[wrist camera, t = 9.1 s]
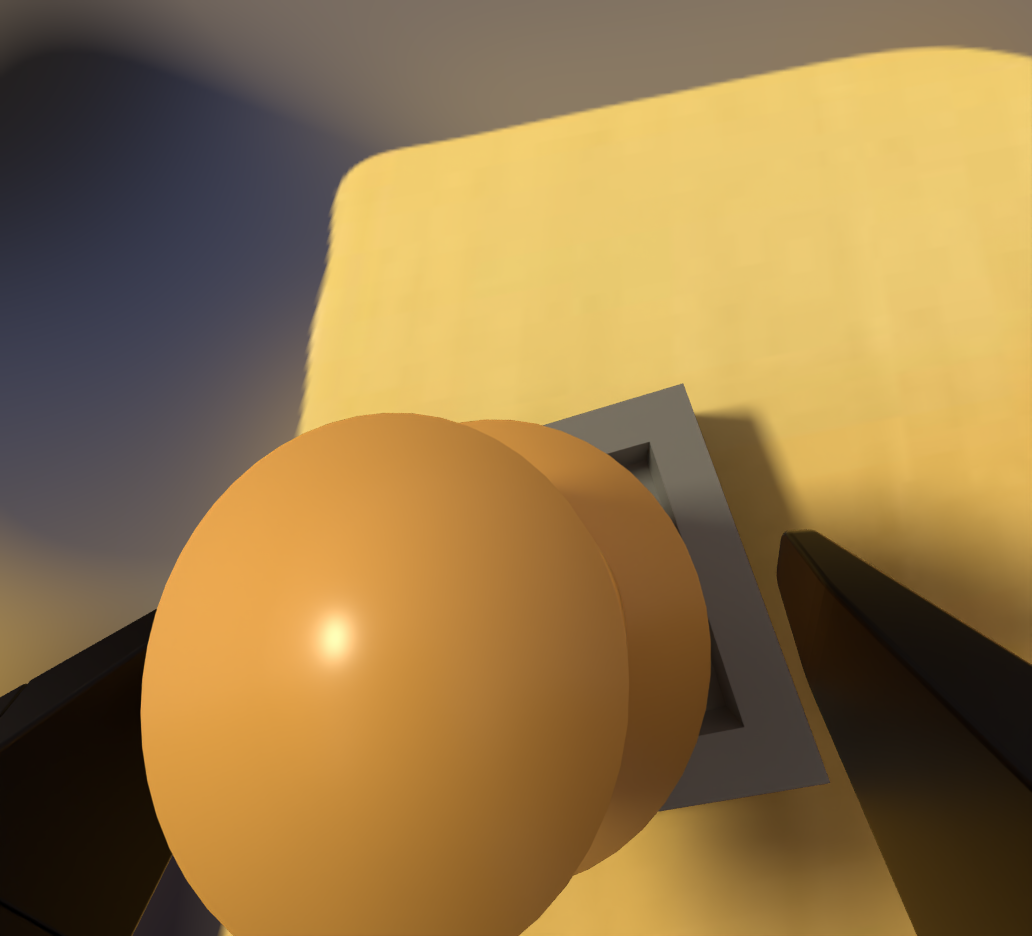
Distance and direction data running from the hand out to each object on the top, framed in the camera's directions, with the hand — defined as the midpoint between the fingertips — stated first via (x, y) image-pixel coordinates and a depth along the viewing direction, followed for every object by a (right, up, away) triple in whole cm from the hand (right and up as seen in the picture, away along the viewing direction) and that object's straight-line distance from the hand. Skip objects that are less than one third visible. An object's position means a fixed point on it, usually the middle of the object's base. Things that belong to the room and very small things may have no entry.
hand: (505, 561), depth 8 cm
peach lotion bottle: (+2, -3, +8) cm, 8 cm away
